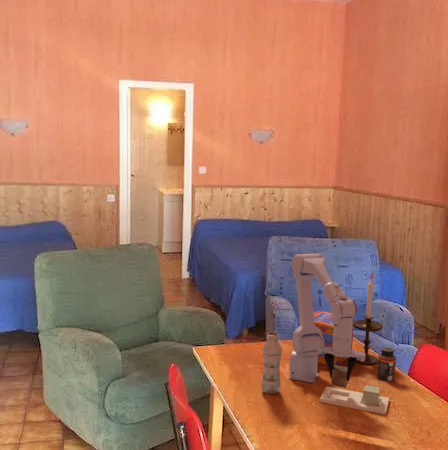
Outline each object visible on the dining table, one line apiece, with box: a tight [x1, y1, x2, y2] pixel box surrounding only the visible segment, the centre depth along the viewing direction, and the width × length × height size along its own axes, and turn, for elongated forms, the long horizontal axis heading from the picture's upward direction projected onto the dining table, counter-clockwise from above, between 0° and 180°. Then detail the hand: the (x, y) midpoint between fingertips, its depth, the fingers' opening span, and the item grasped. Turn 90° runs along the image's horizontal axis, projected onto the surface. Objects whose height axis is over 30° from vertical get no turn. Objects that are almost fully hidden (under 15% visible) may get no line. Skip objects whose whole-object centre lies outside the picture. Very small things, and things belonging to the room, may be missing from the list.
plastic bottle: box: [260, 331, 283, 395], centre depth 182 cm, size 6×7×20 cm
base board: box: [319, 386, 390, 415], centre depth 175 cm, size 20×10×2 cm, turn 68°
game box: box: [304, 310, 355, 366], centre depth 215 cm, size 16×16×16 cm
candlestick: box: [353, 271, 384, 366], centre depth 211 cm, size 11×11×35 cm
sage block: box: [362, 384, 381, 407], centre depth 173 cm, size 4×4×5 cm
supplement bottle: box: [376, 347, 397, 383], centre depth 195 cm, size 6×6×11 cm
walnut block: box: [330, 365, 349, 389], centre depth 176 cm, size 4×4×5 cm
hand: (339, 378), depth 176 cm, fingers closed on walnut block, 4 cm apart
